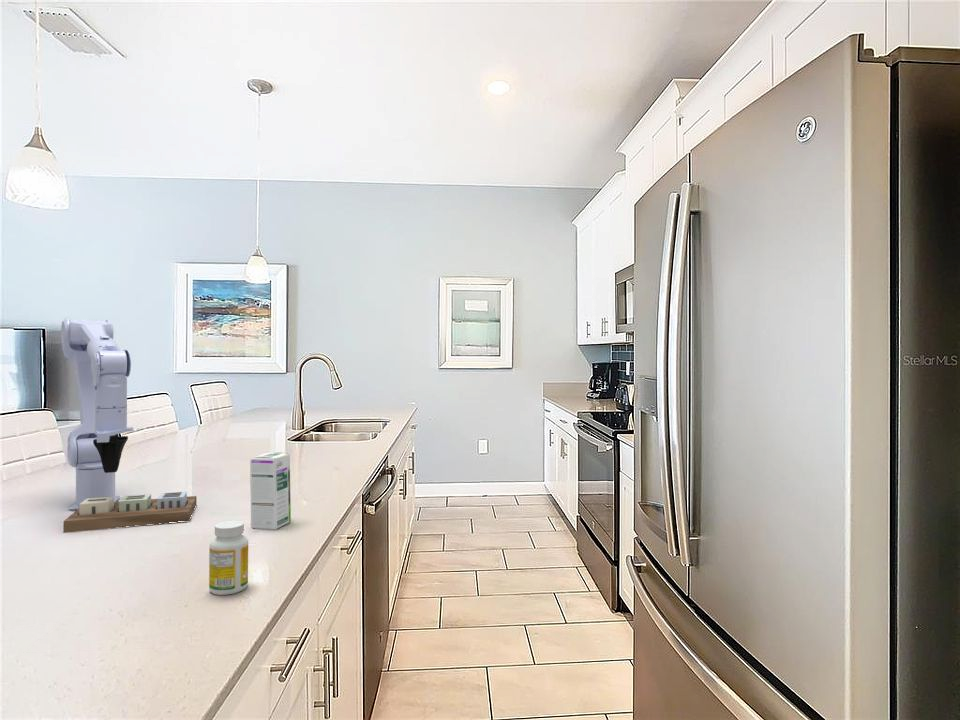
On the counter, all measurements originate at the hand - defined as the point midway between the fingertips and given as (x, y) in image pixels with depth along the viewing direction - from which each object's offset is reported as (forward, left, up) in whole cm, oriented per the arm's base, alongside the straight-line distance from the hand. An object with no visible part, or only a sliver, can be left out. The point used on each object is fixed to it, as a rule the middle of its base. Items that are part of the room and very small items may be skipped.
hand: (110, 472), depth 123 cm
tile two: (0, +5, -9) cm, 10 cm away
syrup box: (+15, +32, -10) cm, 37 cm away
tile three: (0, +12, -9) cm, 15 cm away
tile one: (0, -2, -9) cm, 10 cm away
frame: (0, +5, -10) cm, 11 cm away
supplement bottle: (+47, +26, -10) cm, 55 cm away
